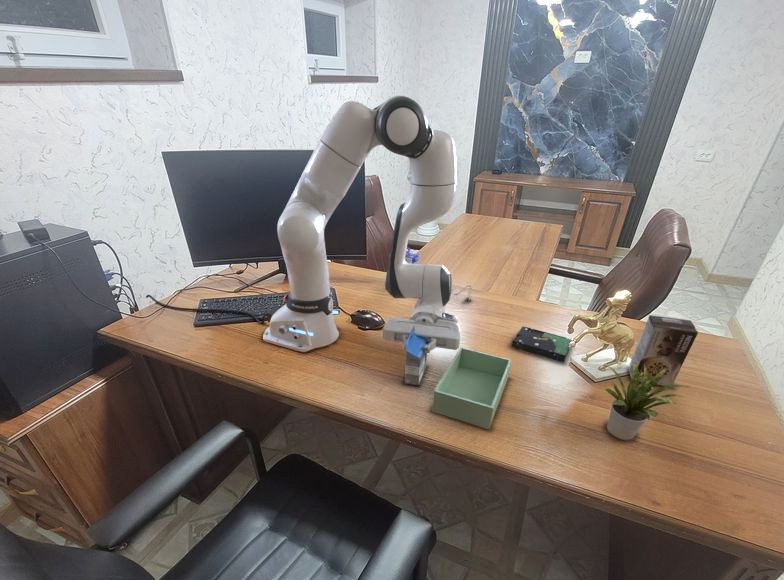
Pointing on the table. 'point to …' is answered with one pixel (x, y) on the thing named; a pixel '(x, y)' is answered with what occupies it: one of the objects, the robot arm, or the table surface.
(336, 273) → the table surface
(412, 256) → the ink cartridge box
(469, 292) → the clip-on lamp
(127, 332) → the table surface
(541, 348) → the disk drive
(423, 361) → the tape cartridge
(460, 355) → the bin
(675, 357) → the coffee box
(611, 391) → the house plant
